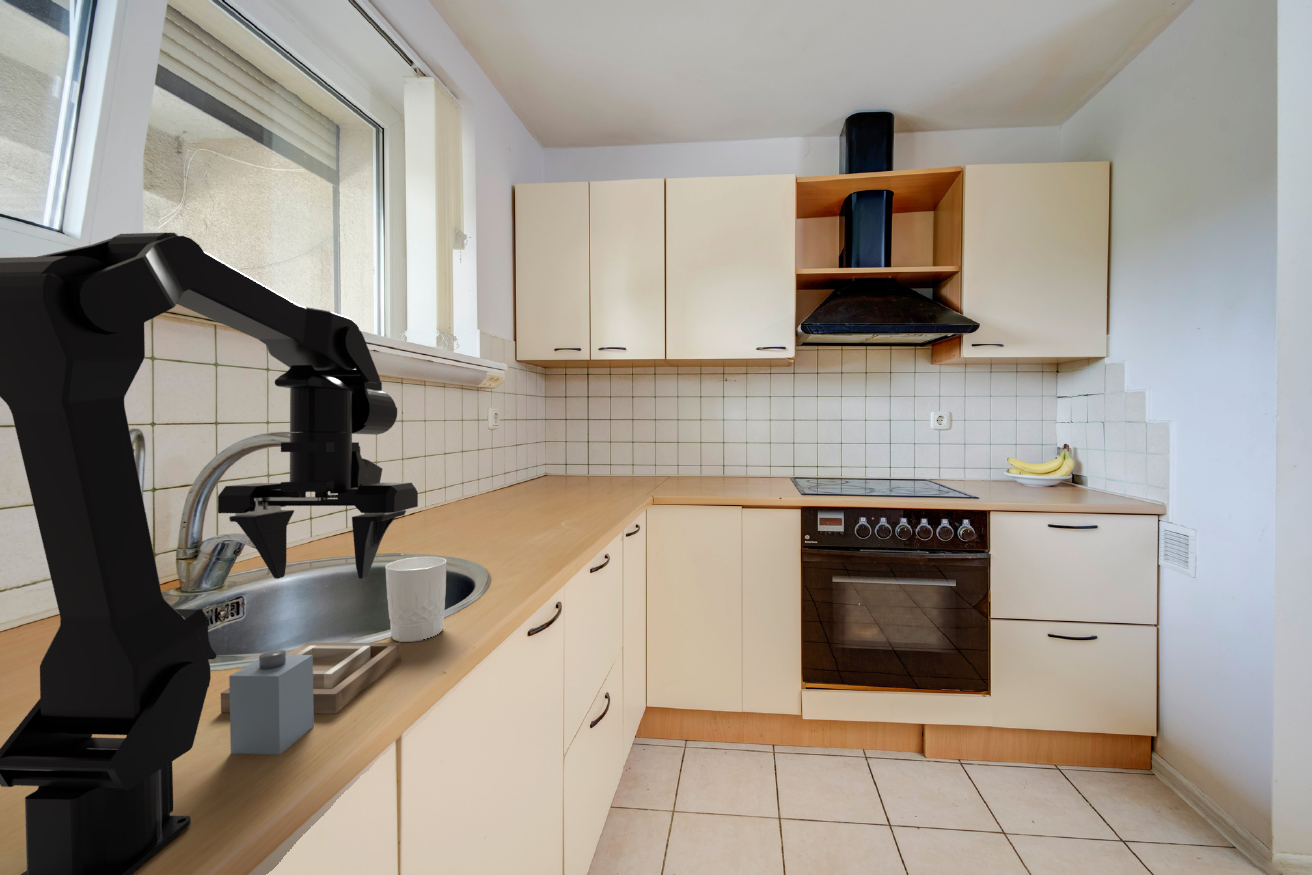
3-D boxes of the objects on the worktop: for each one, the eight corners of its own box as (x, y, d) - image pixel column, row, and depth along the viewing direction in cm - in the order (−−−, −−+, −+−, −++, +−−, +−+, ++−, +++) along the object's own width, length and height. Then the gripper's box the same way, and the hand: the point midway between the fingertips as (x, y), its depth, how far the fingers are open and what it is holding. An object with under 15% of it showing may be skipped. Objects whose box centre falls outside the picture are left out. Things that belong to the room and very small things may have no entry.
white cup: (415, 620, 81) (414, 554, 81) (459, 626, 79) (458, 558, 78) (373, 640, 74) (372, 567, 73) (420, 647, 71) (419, 572, 71)
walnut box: (335, 713, 55) (335, 693, 55) (221, 712, 55) (220, 691, 55) (401, 658, 68) (400, 642, 68) (307, 657, 68) (307, 641, 68)
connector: (279, 754, 48) (278, 664, 48) (230, 753, 48) (229, 664, 48) (313, 726, 52) (312, 644, 52) (268, 725, 52) (267, 644, 52)
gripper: (439, 434, 66) (439, 561, 66) (290, 435, 67) (289, 561, 66) (391, 431, 55) (391, 585, 55) (213, 433, 55) (212, 585, 55)
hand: (321, 577), depth 58 cm, fingers open, 9 cm apart
